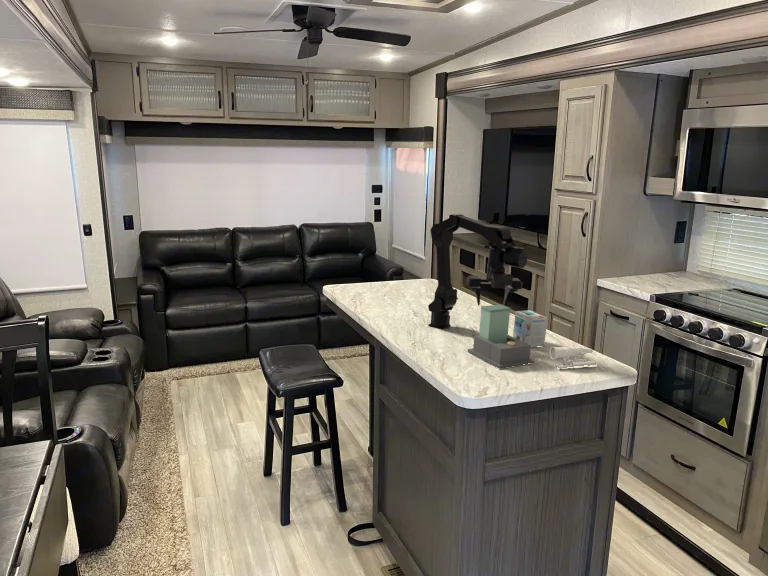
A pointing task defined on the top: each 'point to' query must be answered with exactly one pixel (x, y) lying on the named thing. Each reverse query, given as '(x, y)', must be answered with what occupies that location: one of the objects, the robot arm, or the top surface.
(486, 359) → the switch housing
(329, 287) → the top surface
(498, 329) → the pale green tall block
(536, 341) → the light bulb box
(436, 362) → the top surface
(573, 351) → the toy cannon
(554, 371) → the top surface
